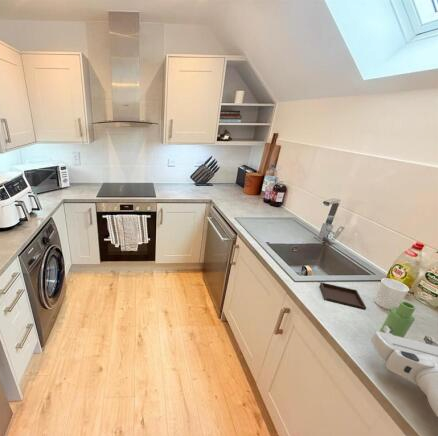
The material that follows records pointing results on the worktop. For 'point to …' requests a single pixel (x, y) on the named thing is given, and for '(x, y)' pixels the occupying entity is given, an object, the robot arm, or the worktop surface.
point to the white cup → (390, 293)
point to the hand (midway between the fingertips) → (406, 332)
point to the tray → (342, 296)
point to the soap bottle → (400, 319)
